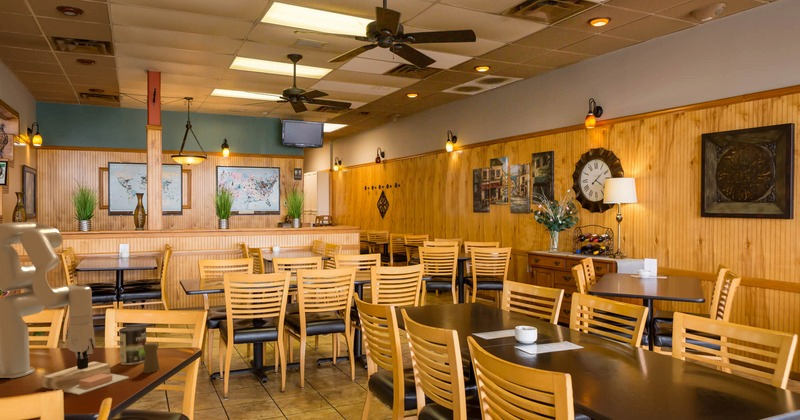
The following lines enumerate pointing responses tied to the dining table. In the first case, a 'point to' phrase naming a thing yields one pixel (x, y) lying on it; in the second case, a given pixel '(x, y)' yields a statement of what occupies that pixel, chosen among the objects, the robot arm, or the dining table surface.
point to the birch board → (73, 375)
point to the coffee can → (132, 345)
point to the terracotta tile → (95, 380)
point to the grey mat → (81, 390)
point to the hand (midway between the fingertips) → (82, 368)
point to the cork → (151, 358)
